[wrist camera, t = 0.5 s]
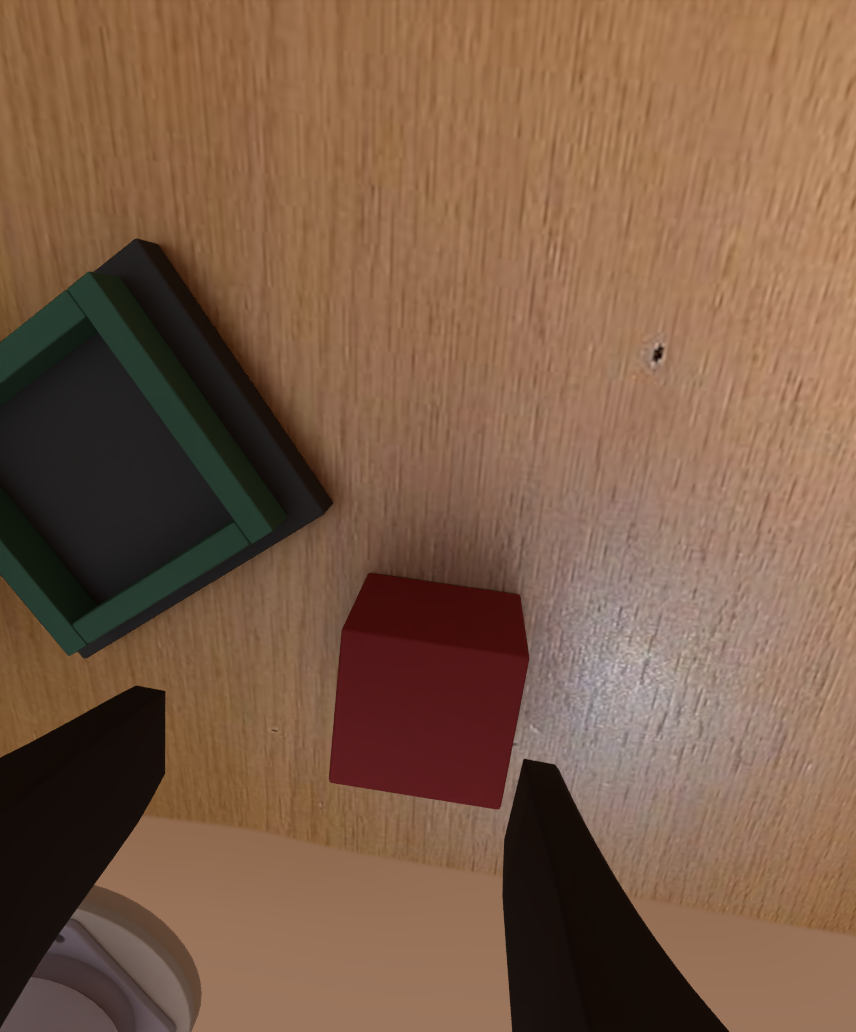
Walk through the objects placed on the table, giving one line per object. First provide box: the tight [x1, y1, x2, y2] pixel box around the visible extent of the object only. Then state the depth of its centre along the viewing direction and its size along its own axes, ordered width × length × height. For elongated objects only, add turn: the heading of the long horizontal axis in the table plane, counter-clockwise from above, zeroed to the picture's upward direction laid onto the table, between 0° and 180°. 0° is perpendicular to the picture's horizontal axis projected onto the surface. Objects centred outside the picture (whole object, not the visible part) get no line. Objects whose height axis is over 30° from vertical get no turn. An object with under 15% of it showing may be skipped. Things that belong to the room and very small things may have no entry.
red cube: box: [329, 573, 529, 809], centre depth 19 cm, size 5×5×4 cm
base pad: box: [0, 239, 333, 659], centre depth 18 cm, size 10×9×3 cm
